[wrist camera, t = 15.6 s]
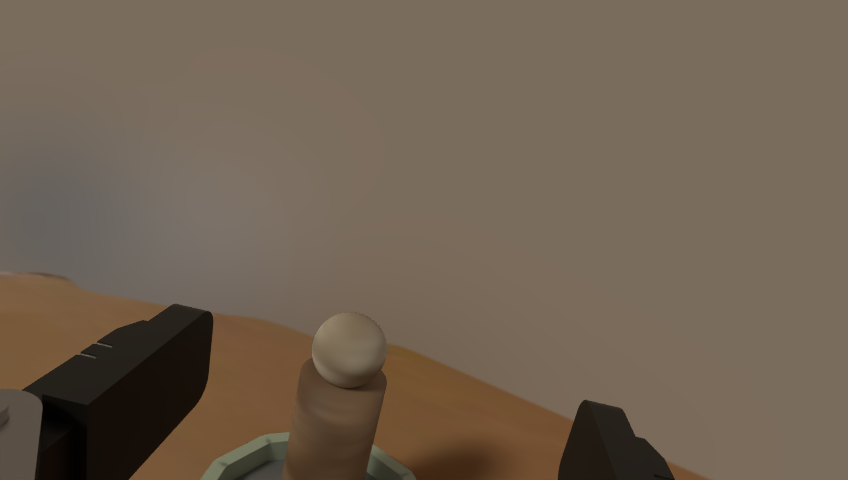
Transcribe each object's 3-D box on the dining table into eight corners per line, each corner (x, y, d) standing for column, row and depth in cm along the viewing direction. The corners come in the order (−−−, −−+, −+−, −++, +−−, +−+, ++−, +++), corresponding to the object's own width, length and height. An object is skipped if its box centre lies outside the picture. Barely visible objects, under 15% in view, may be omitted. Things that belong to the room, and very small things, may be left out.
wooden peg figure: (358, 512, 37) (405, 309, 32) (340, 576, 32) (394, 346, 27) (287, 494, 37) (325, 290, 33) (259, 556, 32) (299, 323, 28)
